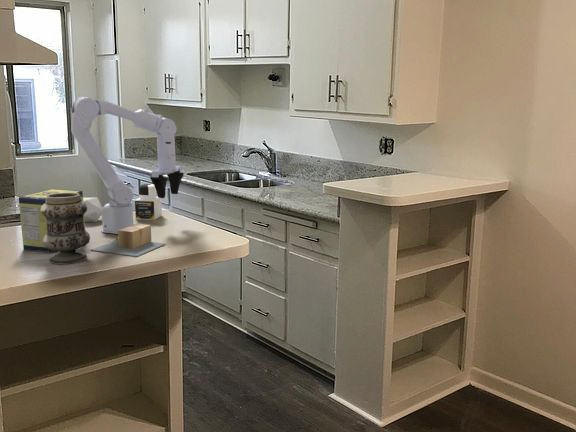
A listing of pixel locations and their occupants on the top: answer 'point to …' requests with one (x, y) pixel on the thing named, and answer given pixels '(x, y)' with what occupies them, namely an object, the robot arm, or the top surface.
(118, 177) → the robot arm
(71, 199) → the apothecary jar
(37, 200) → the protein box
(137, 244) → the oak block
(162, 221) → the top surface
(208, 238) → the top surface
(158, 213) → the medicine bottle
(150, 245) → the slate mat
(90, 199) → the die
